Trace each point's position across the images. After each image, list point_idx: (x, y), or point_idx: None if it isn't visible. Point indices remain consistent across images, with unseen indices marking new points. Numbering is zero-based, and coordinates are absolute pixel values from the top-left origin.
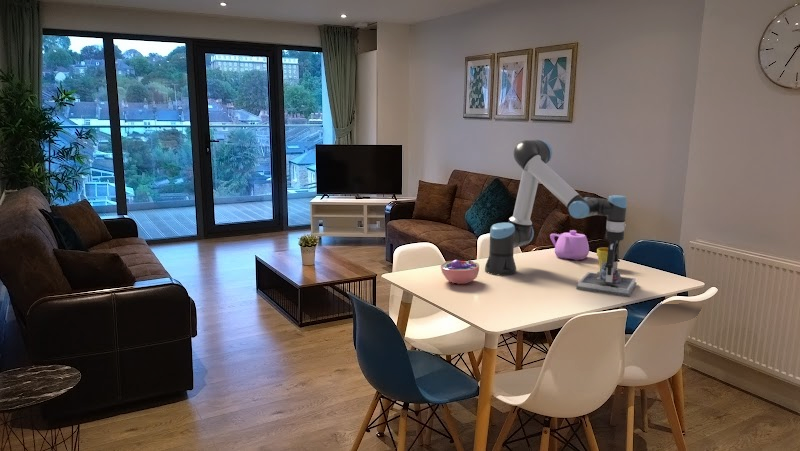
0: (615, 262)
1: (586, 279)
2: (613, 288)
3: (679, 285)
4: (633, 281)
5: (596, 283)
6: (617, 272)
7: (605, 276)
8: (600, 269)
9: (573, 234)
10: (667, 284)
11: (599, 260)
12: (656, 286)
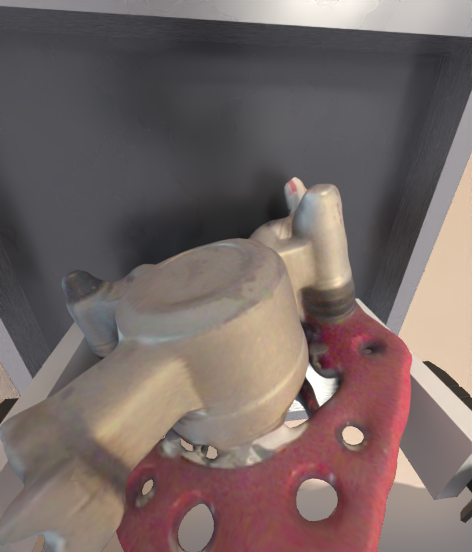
0: (445, 482)
1: (277, 43)
2: (15, 371)
3: (396, 472)
4: (287, 419)
5: (186, 191)
6: (194, 449)
7: (92, 337)
8: (207, 282)
9: None
10: (399, 451)
11: None
12: (353, 435)
